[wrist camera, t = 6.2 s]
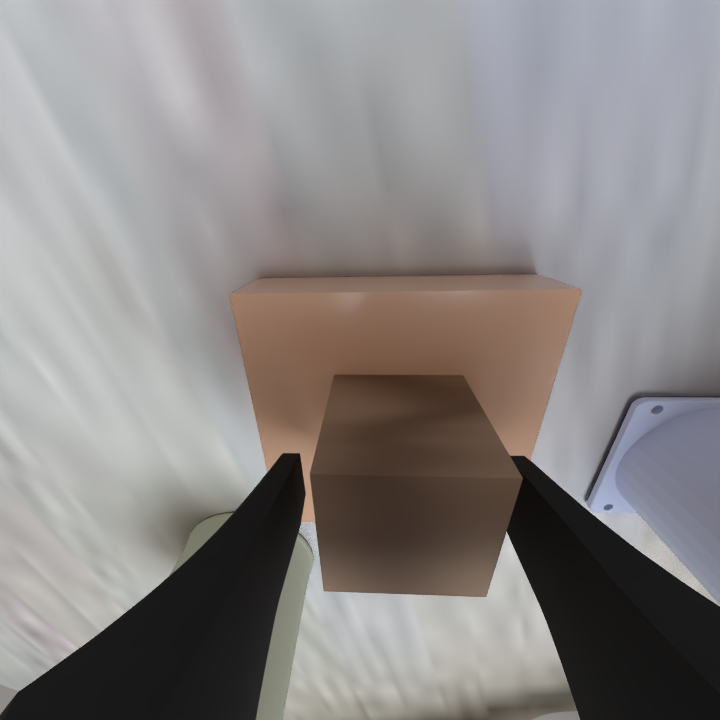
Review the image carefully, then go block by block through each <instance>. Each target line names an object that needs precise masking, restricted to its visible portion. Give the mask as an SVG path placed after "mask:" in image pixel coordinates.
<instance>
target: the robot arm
mask: <svg viewBox="0 0 720 720" xmlns="http://www.w3.org/2000/svg"><path fill="white" fill-rule="evenodd" d="M510 457H511V459H512V460H513V462H514V464H515V466H516V467H517V469H518V471H519V472H520V474H521V476H522V478H523V480H522V483H521V486H520V489H519V493H518V496H517V499H516V502H515V505H514V509H513V512H512V515H511V518H510V522H509V525H508V528H507V533H508V535H509V537H510V540H511V542H512V544H513V547H514V549H515V551H516V553H517V556H518V558H519V560H520V562H521V564H522V567H523V569H524V571H525V573H526V575H527V578H528V580H529V582H530V584H531V587H532V589H533V591H534V593H535V595H536V598H537V600H538V602H539V604H540V607H541V609H542V612H543V614H544V617H545V619H546V621H547V624H548V627H549V630H550V632H551V635H552V638H553V641H554V644H555V646H556V649H557V652H558V655H559V658H560V660H561V663H562V666H563V669H564V672H565V675H566V678H567V681H568V684H569V687H570V690H571V693H572V696H573V699H574V702H575V705H576V708H577V711H578V714H579V717H580V720H720V606H718V605H716V604H715V603H713V602H712V601H710V600H709V599H707V598H706V597H704V596H703V595H701V594H700V593H698V592H697V591H695V590H694V589H692V588H691V587H689V586H688V585H686V584H685V583H683V582H682V581H680V580H679V579H677V578H676V577H675V576H673V575H672V574H670V573H669V572H668V571H666V570H665V569H663V568H662V567H661V566H659V565H658V564H656V563H655V562H654V561H652V560H651V559H649V558H648V557H647V556H645V555H644V554H642V553H641V552H640V551H638V550H637V549H636V548H634V547H633V546H632V545H630V544H629V543H628V542H626V541H625V540H624V539H623V538H621V537H620V536H619V535H618V534H616V533H615V532H614V531H612V530H611V529H610V528H609V527H607V526H606V525H605V524H604V523H602V522H601V521H600V520H599V519H597V518H596V517H595V516H594V515H593V514H591V513H590V512H589V511H588V510H587V509H585V508H584V507H583V506H582V505H581V504H579V503H578V502H577V501H576V500H575V499H574V498H572V497H571V496H570V495H569V494H568V493H567V492H565V491H564V490H563V489H562V488H561V487H560V486H559V485H557V484H556V483H555V482H554V481H553V480H552V479H551V478H549V477H548V476H547V475H546V474H545V473H544V472H543V471H542V470H540V469H539V468H538V467H537V466H536V465H535V464H534V463H532V462H531V461H530V460H529V459H528V458H527V457H525V456H510ZM305 496H306V491H305V484H304V477H303V470H302V463H301V456H300V453H283V454H282V455H280V457H279V458H278V459H277V461H276V462H275V463H274V465H273V466H272V467H271V469H270V470H269V471H268V472H267V474H266V475H265V476H264V477H263V479H262V480H261V481H260V482H259V484H258V485H257V486H256V487H255V489H254V490H253V491H252V492H251V493H250V494H249V496H248V497H247V498H246V499H245V500H244V502H243V503H242V504H241V505H240V506H239V507H238V508H237V510H236V511H235V512H234V513H233V514H232V515H231V516H230V517H229V518H228V519H227V520H226V522H225V523H224V524H223V525H222V526H221V527H220V528H219V529H218V530H217V531H216V532H215V533H214V534H213V535H212V536H211V537H210V538H209V539H208V540H207V541H206V542H205V543H204V544H203V545H202V546H201V547H200V548H199V549H198V550H197V551H196V552H195V553H194V554H193V555H192V556H191V557H190V558H189V559H188V560H187V561H186V562H185V563H183V564H182V565H181V566H180V567H179V568H178V569H177V570H176V571H175V572H173V573H172V574H171V575H170V576H169V577H168V578H167V579H166V580H164V581H163V582H162V583H161V584H160V585H159V586H158V587H156V588H155V589H154V590H153V591H152V592H151V593H149V594H148V595H147V596H146V597H145V598H143V599H142V600H141V601H140V602H138V603H137V604H136V605H135V606H133V607H132V608H131V609H130V610H128V611H127V612H126V613H125V614H123V615H122V616H121V617H120V618H118V619H117V620H116V621H115V622H113V623H112V624H111V625H110V626H108V627H107V628H106V629H105V630H103V631H102V632H101V633H99V634H98V635H97V636H95V637H94V638H93V639H92V640H90V641H89V642H88V643H86V644H85V645H83V646H82V647H81V648H79V649H78V650H76V651H75V652H74V653H72V654H71V655H70V656H68V657H67V658H65V659H64V660H63V661H61V662H60V663H58V664H57V665H56V666H54V667H53V668H52V669H50V670H49V671H47V672H46V673H45V674H43V675H42V676H40V677H39V678H38V679H36V680H35V681H34V682H32V683H31V684H29V685H28V686H26V687H25V688H23V689H22V690H21V691H19V692H18V693H17V694H16V695H15V697H14V698H13V699H12V701H11V702H10V703H9V704H8V706H7V707H6V708H5V710H4V711H3V712H2V713H1V715H0V720H256V716H257V710H258V704H259V699H260V693H261V688H262V683H263V677H264V672H265V667H266V661H267V656H268V651H269V646H270V641H271V636H272V631H273V626H274V621H275V616H276V612H277V607H278V603H279V599H280V595H281V592H282V588H283V585H284V581H285V578H286V574H287V571H288V567H289V564H290V560H291V557H292V553H293V550H294V546H295V543H296V539H297V535H298V532H299V528H300V525H301V520H302V514H303V508H304V502H305ZM587 505H588V507H589V508H590V510H591V511H593V512H610V513H638V514H639V516H640V517H641V518H642V519H643V520H644V521H645V522H646V523H647V524H648V526H649V527H650V528H651V529H652V530H653V531H654V532H655V533H656V534H657V536H658V537H659V538H660V539H661V540H662V541H663V542H664V543H665V544H666V546H667V547H668V548H669V549H670V550H671V551H672V552H673V553H674V554H675V556H676V557H677V558H678V559H679V560H680V561H681V562H682V563H683V564H684V566H685V567H686V568H687V569H688V570H689V571H690V572H691V573H692V574H693V575H694V577H695V578H696V579H697V580H698V581H699V582H700V583H701V584H702V585H703V587H704V588H705V589H706V590H707V591H708V592H709V593H710V594H711V595H712V597H713V598H714V599H715V600H716V601H717V602H718V603H719V604H720V398H702V397H644V398H639V399H637V400H635V401H634V402H633V403H632V404H631V406H630V408H629V410H628V413H627V415H626V417H625V419H624V421H623V424H622V426H621V428H620V430H619V432H618V435H617V437H616V439H615V441H614V443H613V446H612V448H611V450H610V452H609V455H608V457H607V459H606V461H605V463H604V466H603V468H602V470H601V472H600V474H599V477H598V479H597V481H596V483H595V485H594V488H593V490H592V492H591V494H590V497H589V499H588V501H587Z"/></svg>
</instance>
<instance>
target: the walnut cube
mask: <svg viewBox="0 0 720 720" xmlns="http://www.w3.org/2000/svg"><path fill="white" fill-rule="evenodd" d="M522 480H523V478H522V476H521V474H520V472H519V471H518V469H517V467H516V466H515V464H514V462H513V460H512V459H511V457H510V455H509V453H508V452H507V450H506V448H505V447H504V445H503V443H502V441H501V440H500V438H499V436H498V434H497V433H496V431H495V429H494V428H493V426H492V424H491V422H490V421H489V419H488V417H487V415H486V414H485V412H484V410H483V409H482V407H481V405H480V403H479V402H478V400H477V398H476V397H475V395H474V393H473V391H472V390H471V388H470V386H469V384H468V383H467V381H466V379H465V378H464V376H463V375H334V377H333V381H332V385H331V389H330V394H329V398H328V402H327V406H326V410H325V414H324V418H323V422H322V426H321V430H320V434H319V438H318V442H317V446H316V450H315V454H314V458H313V462H312V466H311V471H310V481H311V490H312V498H313V506H314V514H315V523H316V531H317V539H318V547H319V556H320V564H321V572H322V580H323V589H324V591H333V592H361V593H388V594H416V595H444V596H471V597H486V596H487V593H488V589H489V586H490V583H491V580H492V576H493V573H494V570H495V567H496V564H497V560H498V557H499V554H500V551H501V547H502V544H503V541H504V538H505V535H506V531H507V528H508V525H509V522H510V518H511V515H512V512H513V509H514V505H515V502H516V499H517V496H518V493H519V489H520V486H521V483H522Z"/></svg>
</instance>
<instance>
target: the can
mask: <svg viewBox="0 0 720 720" xmlns="http://www.w3.org/2000/svg"><path fill="white" fill-rule="evenodd" d="M232 514H233V513H224V514H220V515H216V516H212V517H210V518H208V519H206V520H204V521H202V522H201V523H199V524H198V525H197V526H196V527H195V528H194V529H193V530H192V532H191V534H190V536H189V538H188V542H187V544H186V546H185V548H184V550H183V552H182V554H181V556H180V558H179V560H178V561H177V563H176V565H175V567H174V569H173V570H172V572H171V574H172V573H173V572H175V571H176V570H177V569H178V568H179V567H180V566H181V565H182V564H183V563H185V562H186V561H187V560H188V559H189V558H190V557H191V556H192V555H193V554H194V553H195V552H196V551H197V550H198V549H199V548H200V547H201V546H202V545H203V544H204V543H205V542H206V541H207V540H208V539H209V538H210V537H211V536H212V535H213V534H214V533H215V532H216V531H217V530H218V529H219V528H220V527H221V526H222V525H223V524H224V523H225V522H226V520H227V519H228V518H229V517H230V516H231V515H232ZM312 567H313V554H312V551H311V549H310V547H309V545H308V543H307V542H306V541H305V539H304V538H303V537H302V536H301V535H300V534H299V533H298V535H297V539H296V543H295V546H294V550H293V553H292V557H291V560H290V564H289V567H288V571H287V574H286V578H285V581H284V585H283V588H282V592H281V595H280V599H279V603H278V607H277V612H276V616H275V621H274V626H273V631H272V636H271V641H270V646H269V651H268V656H267V661H266V667H265V672H264V677H263V683H262V688H261V693H260V699H259V704H258V710H257V716H256V720H283V714H284V709H285V703H286V698H287V692H288V686H289V681H290V675H291V670H292V664H293V658H294V653H295V647H296V642H297V636H298V631H299V625H300V620H301V615H302V609H303V604H304V599H305V594H306V589H307V584H308V579H309V575H310V573H311V570H312ZM171 574H170V575H171Z"/></svg>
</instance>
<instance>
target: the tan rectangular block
mask: <svg viewBox="0 0 720 720" xmlns="http://www.w3.org/2000/svg"><path fill="white" fill-rule="evenodd" d="M581 292H582V289H580V288H577V287H574V286H571V285H568V284H565V283H562V282H559V281H556V280H553V279H550V278H547V277H544V276H541V275H538V274H511V275H444V276H377V277H310V278H259V279H257V280H255V281H253V282H251V283H249V284H247V285H245V286H243V287H241V288H239V289H238V290H236V291H234V292H232V293H230V294H229V295H230V300H231V304H232V309H233V314H234V318H235V323H236V328H237V332H238V337H239V342H240V346H241V351H242V356H243V360H244V365H245V370H246V374H247V379H248V384H249V388H250V393H251V398H252V402H253V407H254V412H255V416H256V421H257V426H258V430H259V435H260V440H261V445H262V449H263V454H264V459H265V463H266V468H267V472H268V471H269V470H270V469H271V467H272V466H273V465H274V463H275V462H276V461H277V459H278V458H279V457H280V455H282V454H283V453H300V456H301V463H302V470H303V477H304V484H305V491H306V496H305V502H304V508H303V514H302V520H301V522H315V514H314V506H313V498H312V490H311V481H310V471H311V466H312V462H313V458H314V454H315V450H316V446H317V442H318V438H319V434H320V430H321V426H322V422H323V418H324V414H325V410H326V406H327V402H328V398H329V394H330V389H331V385H332V381H333V377H334V375H463V376H464V378H465V379H466V381H467V383H468V384H469V386H470V388H471V390H472V391H473V393H474V395H475V397H476V398H477V400H478V402H479V403H480V405H481V407H482V409H483V410H484V412H485V414H486V415H487V417H488V419H489V421H490V422H491V424H492V426H493V428H494V429H495V431H496V433H497V434H498V436H499V438H500V440H501V441H502V443H503V445H504V447H505V448H506V450H507V452H508V453H509V455H510V456H525V457H527V458H528V459H529V460H531V456H532V453H533V450H534V446H535V443H536V440H537V437H538V433H539V430H540V427H541V423H542V420H543V417H544V414H545V410H546V407H547V404H548V400H549V397H550V394H551V391H552V387H553V384H554V381H555V377H556V374H557V371H558V368H559V364H560V361H561V358H562V354H563V351H564V348H565V345H566V341H567V338H568V335H569V331H570V328H571V325H572V322H573V318H574V315H575V312H576V308H577V305H578V302H579V299H580V295H581Z"/></svg>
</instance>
